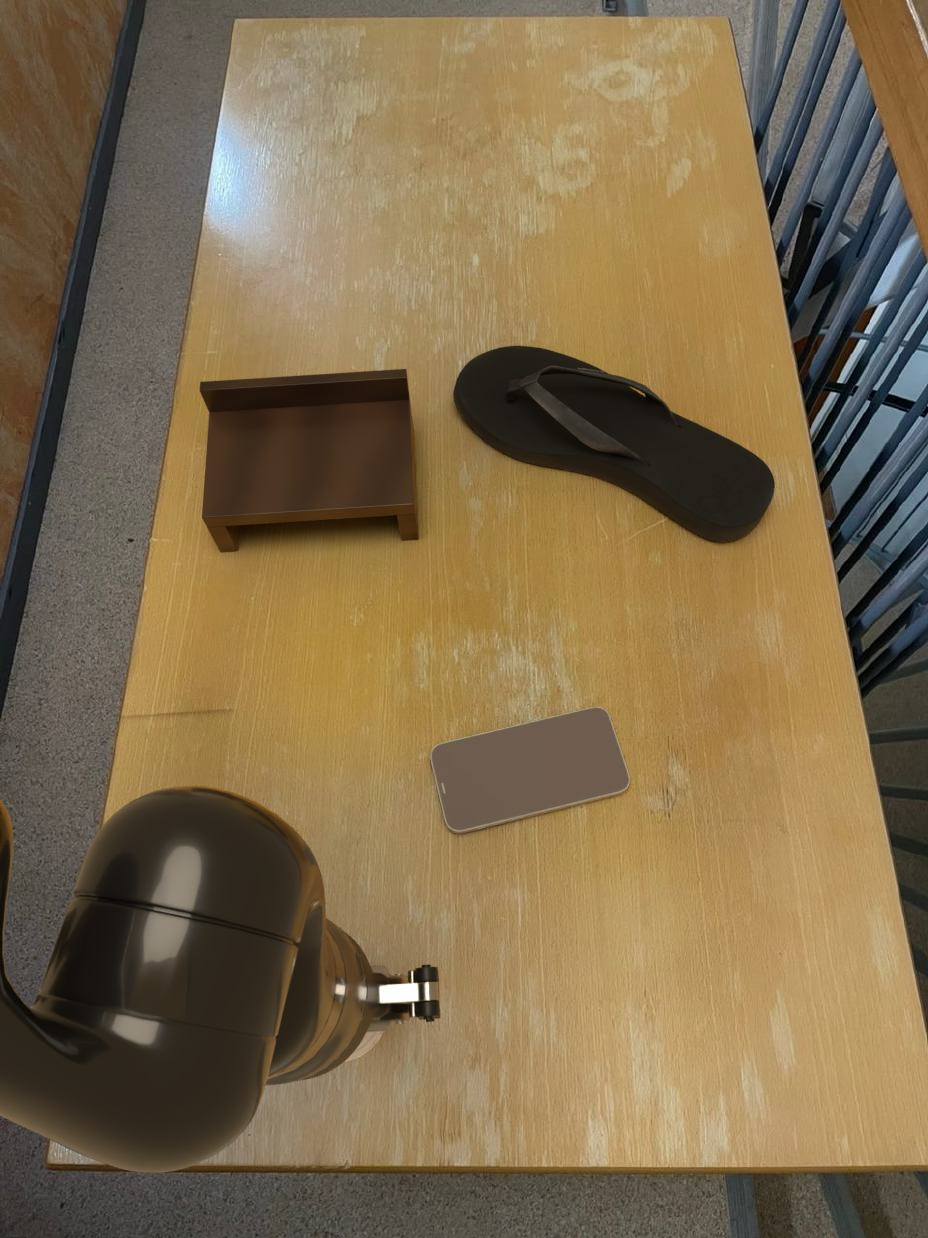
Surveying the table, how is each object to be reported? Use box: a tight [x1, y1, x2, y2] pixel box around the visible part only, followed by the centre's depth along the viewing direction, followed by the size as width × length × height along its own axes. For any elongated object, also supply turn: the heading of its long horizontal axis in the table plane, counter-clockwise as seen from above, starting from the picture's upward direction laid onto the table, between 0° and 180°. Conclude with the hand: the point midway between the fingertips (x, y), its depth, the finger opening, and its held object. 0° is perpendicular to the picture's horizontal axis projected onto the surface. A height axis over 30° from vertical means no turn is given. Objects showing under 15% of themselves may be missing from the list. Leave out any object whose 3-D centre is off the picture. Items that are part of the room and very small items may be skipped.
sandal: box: [452, 345, 776, 543], centre depth 84 cm, size 13×31×7 cm, turn 65°
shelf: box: [199, 368, 420, 553], centre depth 81 cm, size 18×12×9 cm, turn 93°
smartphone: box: [429, 705, 631, 835], centre depth 73 cm, size 7×1×15 cm
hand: (337, 1006), depth 58 cm, fingers open, 7 cm apart
